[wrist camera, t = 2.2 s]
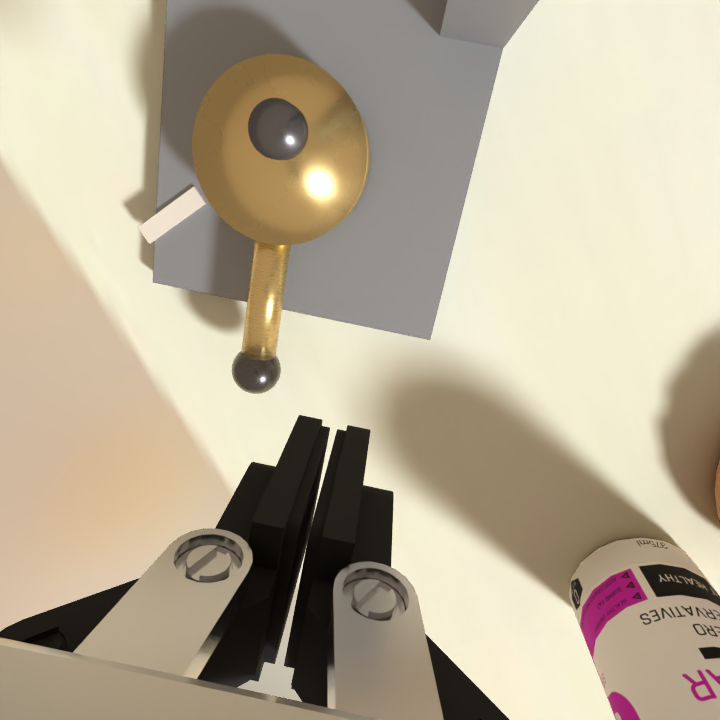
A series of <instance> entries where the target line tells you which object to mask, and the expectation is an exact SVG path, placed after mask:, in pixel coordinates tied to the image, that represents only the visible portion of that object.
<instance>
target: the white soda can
mask: <svg viewBox="0 0 720 720" xmlns="http://www.w3.org/2000/svg"><path fill="white" fill-rule="evenodd" d="M569 598H570V601H571V604H572V607H573V609H574V612H575V615H576V617H577V620H578V623H579V625H580V628H581V630H582V633H583V636H584V638H585V641H586V643H587V646H588V649H589V651H590V654H591V656H592V659H593V662H594V664H595V667H596V669H597V672H598V675H599V677H600V680H601V682H602V685H603V688H604V690H605V693H606V695H607V698H608V701H609V703H610V706H611V708H612V711H613V713H614V716H615V719H616V720H720V596H719V595H718V594H717V592H716V591H715V589H714V588H713V587H712V585H711V584H710V583H709V581H708V580H707V579H706V577H705V576H704V575H703V573H702V572H701V571H700V569H699V568H698V567H697V565H696V564H695V563H694V562H693V561H692V560H691V558H690V557H689V556H688V555H687V554H686V552H685V551H683V550H681V549H679V548H677V547H675V546H674V545H672V544H670V543H668V542H666V541H661V540H655V539H649V538H632V539H624V540H616V541H614V542H611V543H609V544H607V545H604V546H602V547H599V548H598V549H597V550H595V551H594V552H593V553H592V554H590V555H589V556H588V557H587V558H585V559H584V560H583V561H582V562H581V563H580V564H579V566H578V568H577V570H576V571H575V573H574V575H573V576H572V578H571V582H570V591H569Z"/></svg>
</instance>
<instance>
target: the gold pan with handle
mask: <svg viewBox="0 0 720 720" xmlns="http://www.w3.org/2000/svg"><path fill="white" fill-rule="evenodd" d="M192 154H193V163H194V167H195V172H196V175H197V178H198V181H199V184H200V186H201V189H202V191H203V193H204V195H205V197H206V198H207V200H208V201H209V203H210V205H211V206H212V207H213V209H214V210H215V211H216V212H217V214H218V215H219V216H220V217H221V218H222V219H223V220H224V221H225V222H226V223H227V224H228V225H230V226H231V227H232V228H234V229H235V230H236V231H238V232H240V233H241V234H243V235H245V236H247V237H249V238H251V239H254V249H253V257H252V266H251V275H250V283H249V292H248V300H247V309H246V317H245V326H244V334H243V343H242V351H241V352H239V353H238V355H237V356H236V357H235V359H234V361H233V364H232V375H233V378H234V381H235V382H236V384H237V385H238V386H239V387H240V388H241V389H242V390H244V391H246V392H249V393H253V394H259V393H264V392H266V391H268V390H270V389H271V388H273V387H274V386H275V384H276V383H277V381H278V379H279V377H280V372H281V367H280V363H279V360H278V358H277V356H276V348H277V341H278V334H279V327H280V320H281V312H282V305H283V298H284V291H285V284H286V277H287V270H288V263H289V256H290V249H291V245H295V244H301V243H305V242H308V241H311V240H314V239H316V238H318V237H320V236H322V235H324V234H325V233H327V232H329V231H330V230H332V229H333V228H334V227H336V226H337V225H339V224H340V223H341V222H342V221H344V220H345V219H346V218H347V217H348V216H349V215H350V214H351V213H352V211H353V210H354V209H355V207H356V206H357V205H358V203H359V201H360V199H361V198H362V196H363V194H364V191H365V189H366V186H367V183H368V179H369V175H370V169H371V144H370V138H369V134H368V130H367V127H366V124H365V121H364V119H363V117H362V115H361V113H360V111H359V109H358V107H357V106H356V105H355V103H354V102H353V100H352V99H351V97H350V96H349V95H348V93H347V92H346V90H345V89H344V88H343V87H342V86H341V85H340V83H339V82H338V81H337V80H336V79H335V78H334V77H332V76H331V75H330V74H329V73H328V72H326V71H325V70H324V69H322V68H320V67H319V66H317V65H316V64H314V63H312V62H309V61H307V60H305V59H302V58H298V57H295V56H291V55H283V54H266V55H260V56H255V57H252V58H249V59H246V60H244V61H242V62H240V63H238V64H236V65H234V66H233V67H231V68H230V69H228V70H227V71H226V72H224V73H223V74H222V75H221V76H220V77H219V78H218V79H217V80H216V81H215V82H214V83H213V85H212V86H211V87H210V89H209V90H208V91H207V93H206V95H205V97H204V98H203V100H202V102H201V105H200V107H199V110H198V112H197V115H196V119H195V123H194V128H193V135H192Z"/></svg>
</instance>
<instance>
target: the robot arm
mask: <svg viewBox="0 0 720 720" xmlns="http://www.w3.org/2000/svg"><path fill="white" fill-rule="evenodd" d="M329 431H330V428H329V427H324V426H322V420H321V419H316V418H311V417H306V416H302V415H299V417H298V419H297V421H296V423H295V425H294V428H293V430H292V432H291V434H290V437H289V439H288V441H287V443H286V446H285V448H284V450H283V452H282V454H281V457H280V459H279V461H278V463H277V466H276V467H274V466H270V465H265V464H260V463H255V462H252V463H251V464H250V465H249V467H248V469H247V471H246V473H245V475H244V476H243V478H242V480H241V482H240V484H239V486H238V487H237V489H236V491H235V493H234V495H233V497H232V498H231V500H230V502H229V504H228V506H227V508H226V510H225V511H224V513H223V515H222V517H221V519H220V521H219V522H218V524H217V526H216V528H215V529H200V530H195V531H191V532H189V533H187V534H184V535H182V536H180V537H179V538H177V539H176V540H175V541H174V542H173V543H171V544H170V545H169V546H168V548H167V549H166V550H165V551H164V552H163V553H162V554H161V555H160V557H158V559H157V560H156V561H155V562H154V563H153V564H152V565H151V566H150V567H149V569H148V570H147V571H146V572H145V573H144V574H143V575H142V576H141V577H140V578H139V579H136V580H133V581H130V582H127V583H125V584H122V585H119V586H116V587H114V588H111V589H108V590H105V591H102V592H100V593H97V594H94V595H91V596H88V597H86V598H82V599H80V600H77V601H74V602H71V603H68V604H66V605H63V606H60V607H57V608H54V609H52V610H49V611H46V612H43V613H40V614H38V615H35V616H32V617H29V618H26V619H23V620H21V621H19V622H17V623H15V624H13V625H11V626H8V627H6V628H5V629H4V630H2V631H1V632H0V720H509V719H508V718H507V717H506V716H505V715H504V714H503V713H502V712H501V711H500V710H499V709H498V708H497V706H496V705H495V704H494V703H493V702H492V701H491V700H490V699H489V698H488V697H487V696H486V695H485V694H484V693H483V692H482V691H481V690H480V689H479V688H478V687H477V686H476V685H475V684H474V683H473V682H472V681H471V680H470V679H469V678H468V677H467V676H466V675H465V674H464V673H463V672H462V671H461V670H460V669H459V668H458V667H457V666H456V665H455V664H454V663H453V662H452V661H451V659H450V658H449V657H448V656H447V655H446V654H445V653H444V652H443V651H442V650H441V649H440V648H439V647H438V646H437V645H436V644H435V643H434V642H433V641H432V640H431V639H430V638H429V637H428V636H427V635H426V634H425V630H424V625H423V620H422V616H421V611H420V606H419V602H418V597H417V594H416V592H415V589H414V587H413V586H412V584H411V583H410V582H409V581H408V579H407V578H406V577H405V576H404V575H402V574H401V573H400V572H398V571H397V570H396V569H393V568H391V550H392V523H393V492H392V491H388V490H383V489H378V488H374V487H369V486H364V485H363V480H364V473H365V466H366V459H367V451H368V444H369V437H370V430H368V429H363V428H359V427H354V426H349V425H348V426H347V430H346V431H343V430H338V429H337V433H336V436H335V440H334V444H333V447H332V451H331V455H330V459H329V462H328V466H327V470H326V473H325V477H324V481H323V485H322V488H321V492H320V496H319V499H318V503H317V507H316V511H315V514H314V510H315V504H316V499H317V494H318V489H319V484H320V478H321V473H322V468H323V463H324V457H325V452H326V447H327V442H328V436H329ZM313 515H314V518H313ZM312 520H313V522H312ZM311 525H312V526H311ZM307 542H308V543H307ZM306 546H307V548H306ZM305 549H306V553H305ZM304 553H305V558H304V563H303V569H302V574H301V579H300V584H299V590H298V595H297V600H296V605H295V611H294V616H293V621H292V626H291V632H290V637H289V642H288V648H287V653H286V658H285V663H284V666H286V667H291V668H295V669H294V674H293V679H292V684H291V685H292V689H294V690H295V691H296V693H297V694H298V696H299V697H300V699H301V700H302V702H299V701H295V700H290V699H286V698H281V697H277V696H271V695H267V694H263V693H258V692H254V691H249V690H244V689H239V688H237V687H238V686H240V685H242V684H244V683H246V682H247V681H249V680H255V681H259V678H260V674H261V671H262V667H263V664H264V662H268V663H273V664H275V661H276V657H277V654H278V650H279V646H280V642H281V639H282V635H283V632H284V628H285V624H286V620H287V617H288V613H289V609H290V605H291V602H292V598H293V594H294V590H295V587H296V583H297V579H298V576H299V572H300V568H301V564H302V561H303V557H304Z"/></svg>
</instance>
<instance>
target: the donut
mask: <svg viewBox="0 0 720 720" xmlns="http://www.w3.org/2000/svg"><path fill="white" fill-rule="evenodd" d="M715 500H716V507H717V513H718V518H719V520H720V460H719V463H718V467H717V471H716V482H715Z"/></svg>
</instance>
